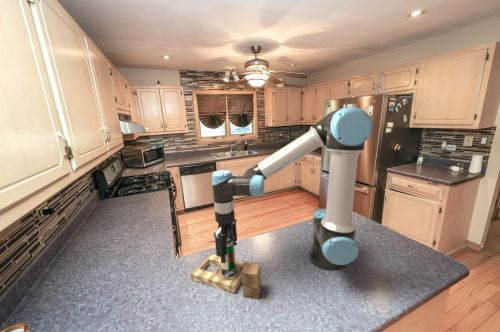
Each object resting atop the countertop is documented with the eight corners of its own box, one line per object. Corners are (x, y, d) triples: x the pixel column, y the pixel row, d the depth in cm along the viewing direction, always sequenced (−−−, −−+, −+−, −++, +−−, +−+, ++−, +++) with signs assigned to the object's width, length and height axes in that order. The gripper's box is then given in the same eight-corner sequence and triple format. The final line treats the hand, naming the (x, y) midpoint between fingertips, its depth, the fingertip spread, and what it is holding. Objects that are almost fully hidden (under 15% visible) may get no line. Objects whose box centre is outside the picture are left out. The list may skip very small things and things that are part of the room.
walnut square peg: (261, 287, 78) (259, 264, 77) (258, 299, 73) (256, 274, 71) (247, 285, 80) (245, 262, 78) (243, 297, 75) (241, 272, 73)
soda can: (237, 267, 84) (235, 240, 82) (228, 273, 81) (226, 246, 78) (229, 262, 88) (227, 236, 85) (220, 268, 84) (217, 241, 82)
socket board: (249, 269, 89) (249, 263, 88) (234, 293, 76) (233, 286, 76) (211, 259, 97) (210, 253, 96) (191, 280, 84) (190, 273, 84)
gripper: (227, 201, 89) (231, 249, 93) (202, 219, 73) (208, 276, 77) (243, 203, 86) (246, 253, 90) (220, 222, 70) (225, 281, 74)
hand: (228, 263), depth 84 cm, fingers closed on soda can, 5 cm apart
